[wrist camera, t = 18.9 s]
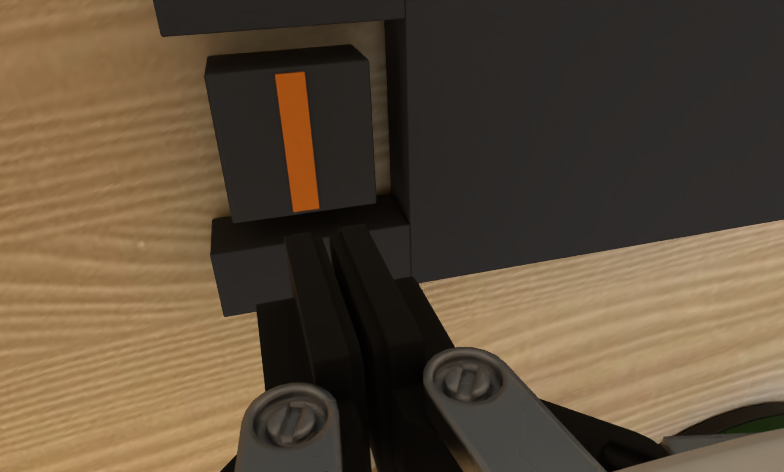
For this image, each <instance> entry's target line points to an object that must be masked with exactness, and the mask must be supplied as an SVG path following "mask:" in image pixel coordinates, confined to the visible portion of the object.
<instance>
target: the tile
mask: <svg viewBox="0 0 784 472" xmlns="http://www.w3.org/2000/svg"><path fill="white" fill-rule="evenodd" d="M204 78H205V83H206V88H207V94H208V99H209V104H210V109H211V114H212V119H213V124H214V130H215V135H216V140H217V145H218V150H219V155H220V160H221V166H222V171H223V176H224V181H225V186H226V191H227V196H228V201H229V207H230V212H231V217H232V221H233V223H240V222H247V221H255V220H262V219H269V218H276V217H283V216H290V215H297V214H304V213H311V212H318V211H325V210H332V209H339V208H346V207H353V206H360V205H367V204H374V203H376V183H375V164H374V146H373V127H372V108H371V90H370V71H369V61H368V59H367V58H366V57H364V56H363V55H362V54H361V53H360V52H359V51H358V50H357V49H356V48H355V47H354V46H353V45H338V46H326V47H314V48H302V49H290V50H278V51H266V52H254V53H242V54H230V55H218V56H209V57H207V63H206V69H205V75H204Z"/></svg>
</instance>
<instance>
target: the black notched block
mask: <svg viewBox="0 0 784 472" xmlns="http://www.w3.org/2000/svg"><path fill="white" fill-rule="evenodd" d="M153 2H154V7H155V11H156V16H157V20H158V25H159V29H160V33H161V36H162V37H168V36H181V35H195V34H208V33H221V32H234V31H248V30H261V29H274V28H287V27H301V26H314V25H327V24H340V23H354V22H367V21H380V20H385V44H386V69H387V95H388V120H389V145H390V171H391V195H383V196H376V203H374V204H367V205H360V206H353V207H346V208H339V209H332V210H325V211H318V212H311V213H304V214H297V215H290V216H283V217H276V218H269V219H262V220H255V221H247V222H240V223H233V221H232V217H226V218H219V219H213V220H212V234H211V252H210V257H211V261H212V266H213V270H214V275H215V279H216V283H217V288H218V292H219V297H220V301H221V306H222V310H223V315H224V317H228V316H234V315H239V314H245V313H251V312H257V310H256V304H261V303H267V302H272V301H278V300H283V299H289V298H293V297H292V291H291V284H290V277H289V270H288V263H287V256H286V249H285V242H284V236H288V235H294V234H300V233H307V232H311V235H312V238H319V237H322V239H323V242H324V244H325V247H326V250H327V253H328V256H329V259H330V262H331V252H330V242H329V237H330V236H332V235H338V228H339V227H345V226H351V225H358V224H365V225H366V227H367V229H368V230H369V232H370V234H371V236H372V238H373V240H374V242H375V244H376V246H377V248H378V250H379V252H380V254H381V256H382V258H383V260H384V262H385V264H386V265H387V267H388V269H389V271H390V273H391V275H392V277H393V279H399V278H404V277H410V276H412V277H414V278H415V279H416V281H417V282H418V283H423V282H428V281H434V280H440V279H446V278H451V277H457V276H463V275H468V274H474V273H480V272H486V271H491V270H497V269H503V268H509V267H514V266H520V265H526V264H531V263H537V262H543V261H549V260H554V259H560V258H566V257H572V256H577V255H583V254H589V253H594V252H600V251H606V250H612V249H617V248H623V247H629V246H635V245H640V244H646V243H652V242H657V241H663V240H669V239H675V238H680V237H686V236H692V235H698V234H703V233H709V232H715V231H720V230H726V229H732V228H738V227H743V226H749V225H755V224H761V223H766V222H772V221H778V220H783V219H784V0H153ZM331 264H332V262H331Z"/></svg>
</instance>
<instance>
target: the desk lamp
mask: <svg viewBox="0 0 784 472" xmlns="http://www.w3.org/2000/svg"><path fill="white" fill-rule="evenodd" d="M782 428H784V403H769V404H763V405H758V406H753V407H747V408H743V409H740V410H737V411H734V412H730V413H727V414H724V415H721V416H718V417H715V418H713V419H711V420H709V421H706V422H704V423H702V424H700V425H697V426H695V427H693V428H691V429H688V430H687V431H685V432H683V433H681V434H680V435H678V436H690V435H712V434H734V433H756V432H767V431H772V430H777V429H782Z"/></svg>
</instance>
